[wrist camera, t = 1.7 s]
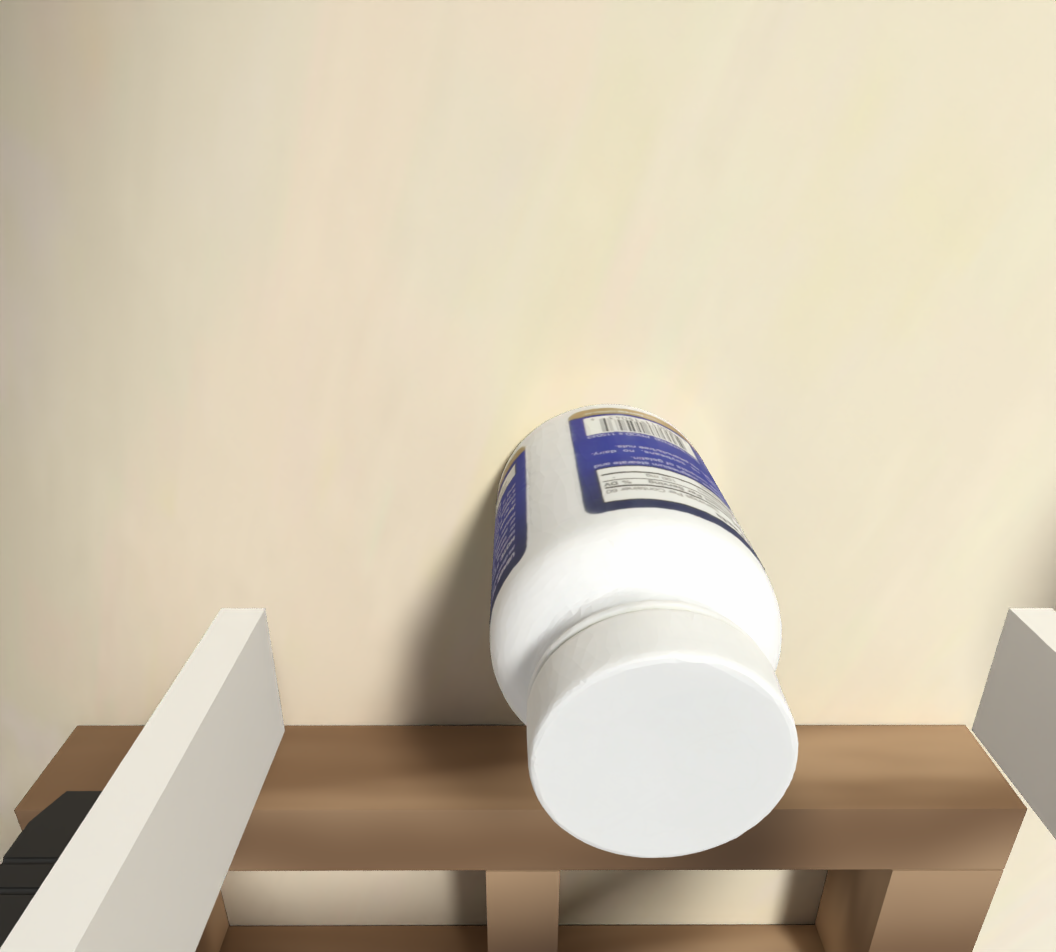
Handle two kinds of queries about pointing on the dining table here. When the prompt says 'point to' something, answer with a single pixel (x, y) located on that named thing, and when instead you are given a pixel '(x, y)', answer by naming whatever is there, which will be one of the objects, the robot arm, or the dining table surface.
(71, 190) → the dining table surface
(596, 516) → the pill bottle
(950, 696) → the dining table surface
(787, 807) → the wooden frame
